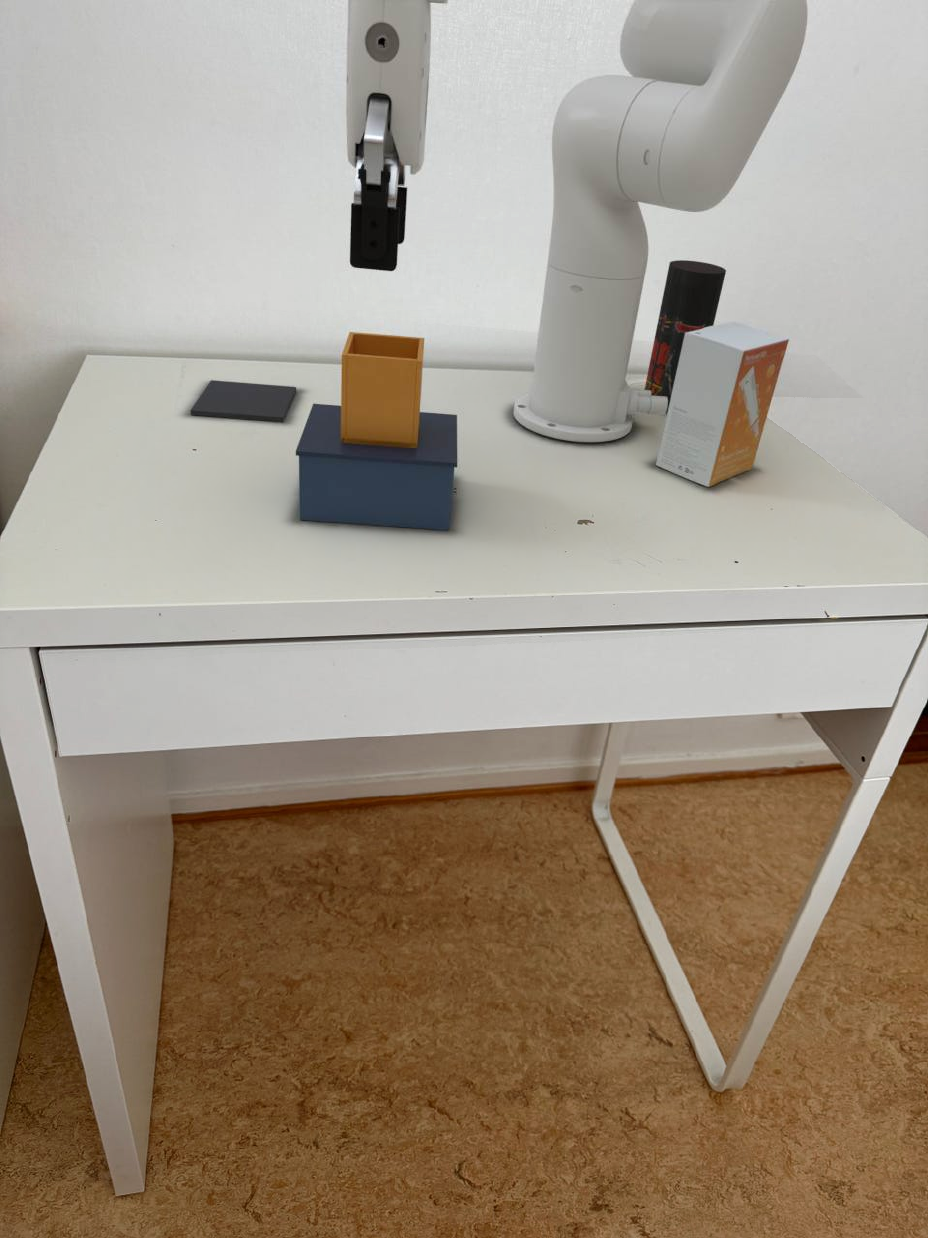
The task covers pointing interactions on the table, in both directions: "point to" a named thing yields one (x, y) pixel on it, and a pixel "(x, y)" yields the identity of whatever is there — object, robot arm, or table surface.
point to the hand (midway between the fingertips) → (378, 254)
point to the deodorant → (682, 318)
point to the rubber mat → (244, 401)
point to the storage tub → (377, 474)
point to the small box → (720, 401)
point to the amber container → (381, 389)
